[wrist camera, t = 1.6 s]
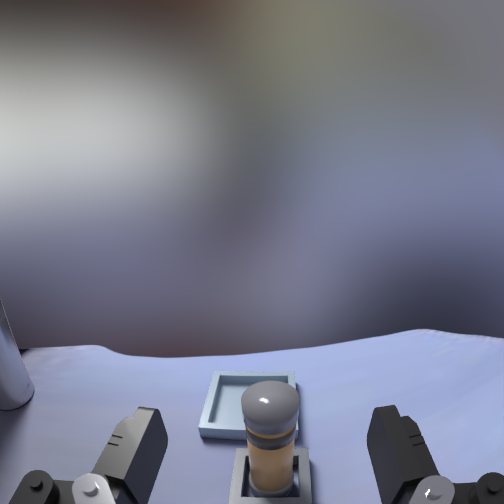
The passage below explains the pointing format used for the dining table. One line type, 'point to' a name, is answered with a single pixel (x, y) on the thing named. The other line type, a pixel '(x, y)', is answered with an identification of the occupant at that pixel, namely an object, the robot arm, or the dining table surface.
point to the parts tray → (233, 402)
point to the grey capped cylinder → (270, 436)
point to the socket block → (304, 500)
